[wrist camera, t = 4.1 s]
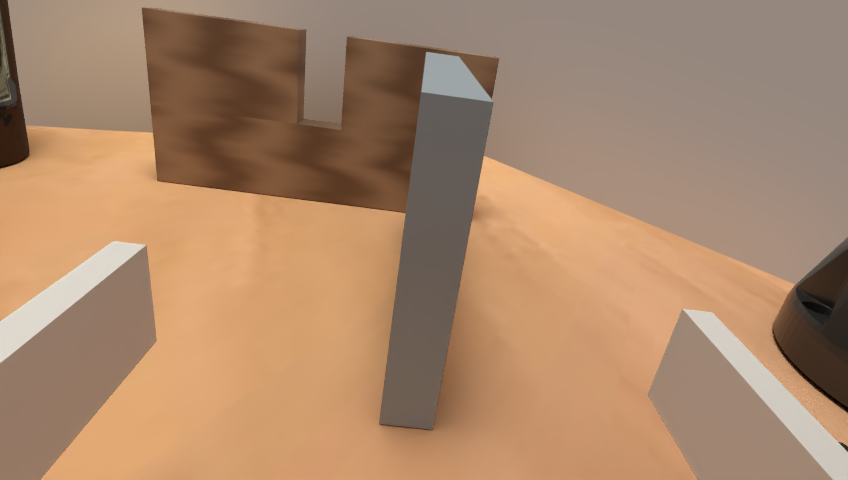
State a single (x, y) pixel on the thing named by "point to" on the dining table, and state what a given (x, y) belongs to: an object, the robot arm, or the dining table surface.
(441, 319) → the slate slotted plate
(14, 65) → the dark brown bottle
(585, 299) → the dining table surface
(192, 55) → the walnut slotted board
